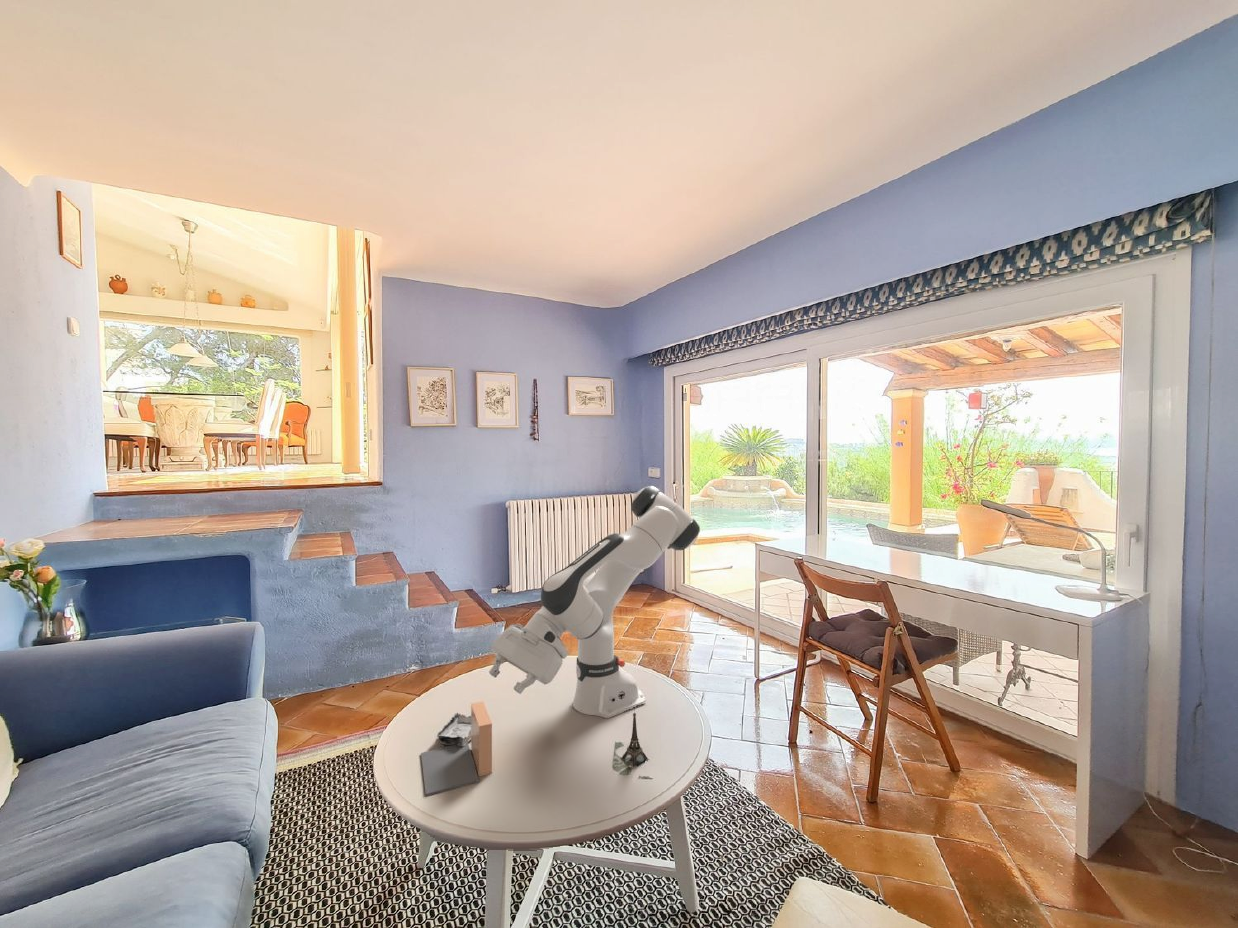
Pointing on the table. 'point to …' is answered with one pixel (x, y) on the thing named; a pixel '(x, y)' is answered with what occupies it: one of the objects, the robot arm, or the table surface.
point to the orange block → (481, 738)
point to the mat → (448, 768)
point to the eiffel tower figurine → (629, 755)
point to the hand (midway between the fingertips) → (503, 683)
